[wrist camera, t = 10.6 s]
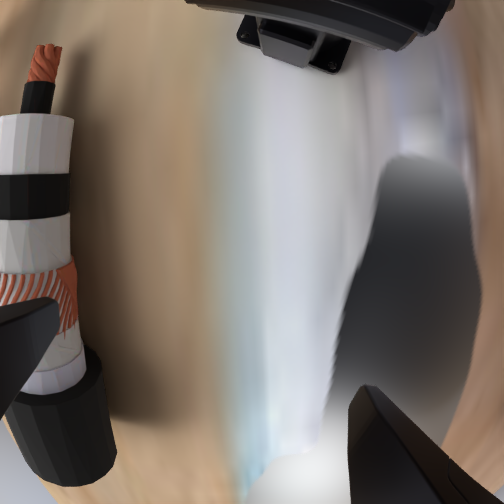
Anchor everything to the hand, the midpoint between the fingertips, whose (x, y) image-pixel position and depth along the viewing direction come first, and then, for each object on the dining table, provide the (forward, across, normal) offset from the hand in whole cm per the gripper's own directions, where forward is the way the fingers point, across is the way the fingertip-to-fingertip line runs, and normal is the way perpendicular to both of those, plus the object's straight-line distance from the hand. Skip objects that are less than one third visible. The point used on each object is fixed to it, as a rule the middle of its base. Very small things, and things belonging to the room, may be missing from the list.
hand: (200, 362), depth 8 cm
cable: (+14, +14, +7) cm, 20 cm away
